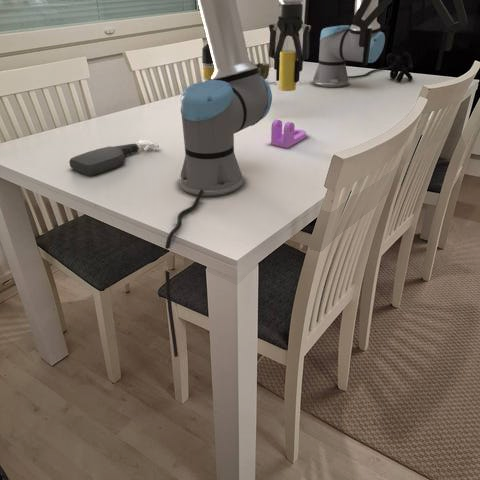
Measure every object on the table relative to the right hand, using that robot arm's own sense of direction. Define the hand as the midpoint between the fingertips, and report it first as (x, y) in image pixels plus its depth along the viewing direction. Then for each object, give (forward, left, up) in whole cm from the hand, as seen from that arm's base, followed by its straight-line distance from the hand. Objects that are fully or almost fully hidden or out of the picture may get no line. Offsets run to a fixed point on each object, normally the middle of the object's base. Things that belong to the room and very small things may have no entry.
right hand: (287, 80), depth 150 cm
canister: (0, 0, -3) cm, 3 cm away
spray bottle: (+56, -29, -12) cm, 64 cm away
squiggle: (-72, +27, -12) cm, 78 cm away
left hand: (+51, +42, +16) cm, 68 cm away
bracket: (+22, +10, -12) cm, 27 cm away
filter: (-11, -36, -12) cm, 40 cm away
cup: (-43, -29, -12) cm, 53 cm away
